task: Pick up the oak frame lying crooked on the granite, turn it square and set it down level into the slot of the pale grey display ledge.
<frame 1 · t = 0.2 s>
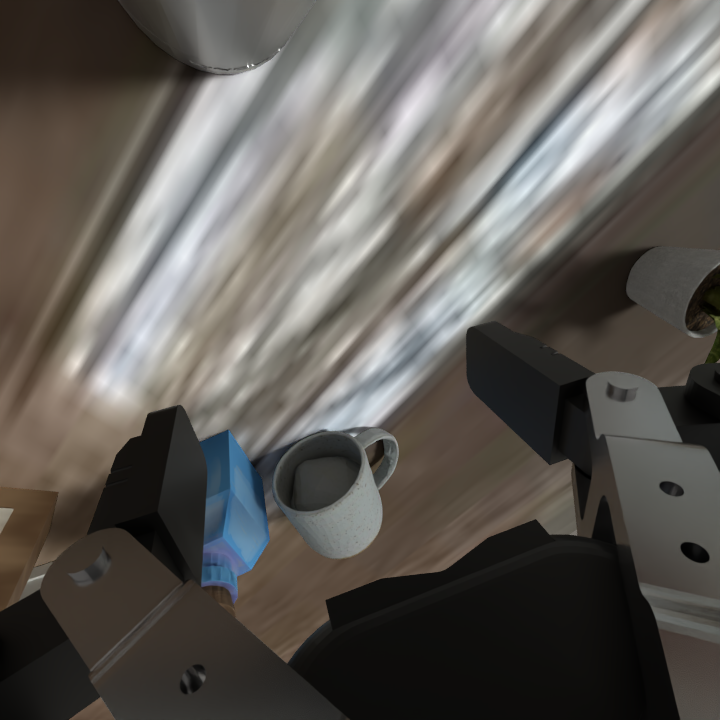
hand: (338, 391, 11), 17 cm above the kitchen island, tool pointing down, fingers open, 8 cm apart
perfume bottle: (210, 470, 33), on the kitchen island
house plant: (644, 287, 37), on the kitchen island
ceramic mug: (335, 456, 36), on the kitchen island
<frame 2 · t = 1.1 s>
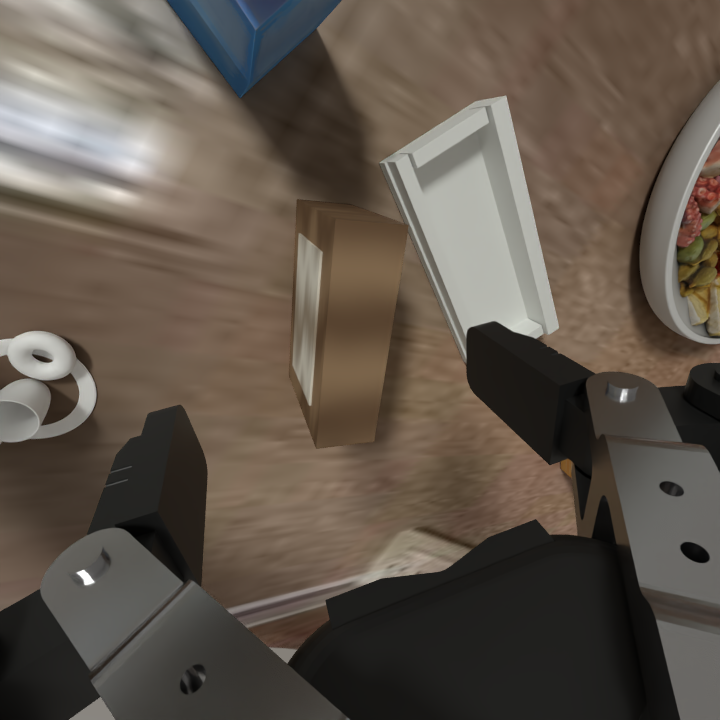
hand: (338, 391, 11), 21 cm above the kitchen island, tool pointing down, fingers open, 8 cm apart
display ledge: (468, 251, 34), on the kitchen island
perfume bottle: (240, 8, 23), on the kitchen island
oak frame: (317, 296, 32), on the kitchen island
teacup and saucer: (84, 383, 29), on the kitchen island
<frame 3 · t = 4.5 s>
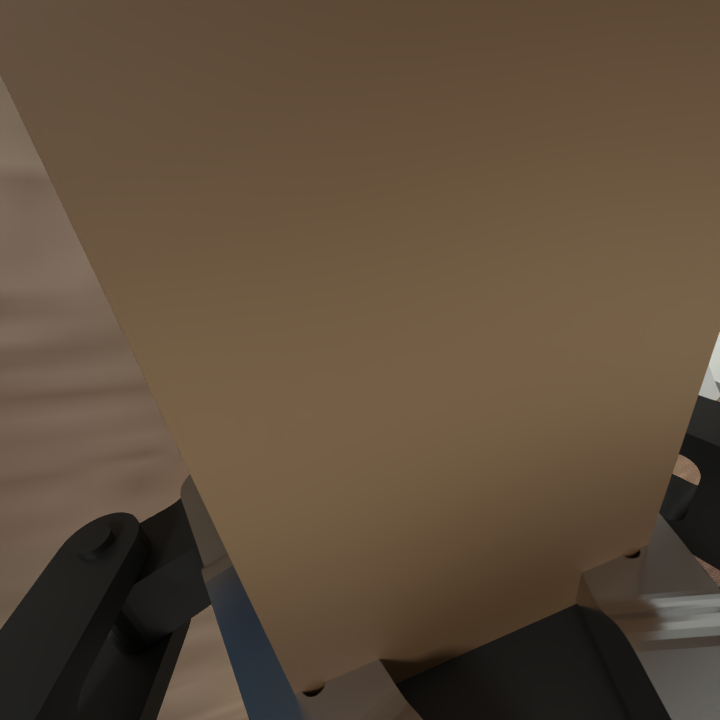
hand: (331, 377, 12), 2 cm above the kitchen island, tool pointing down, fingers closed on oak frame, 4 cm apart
display ledge: (657, 150, 14), on the kitchen island
oak frame: (319, 350, 13), on the kitchen island, touching gripper
when the fingers open (5 cm above the kitchen island, at t = 8.7 s): oak frame drops 2 cm, resting on display ledge.
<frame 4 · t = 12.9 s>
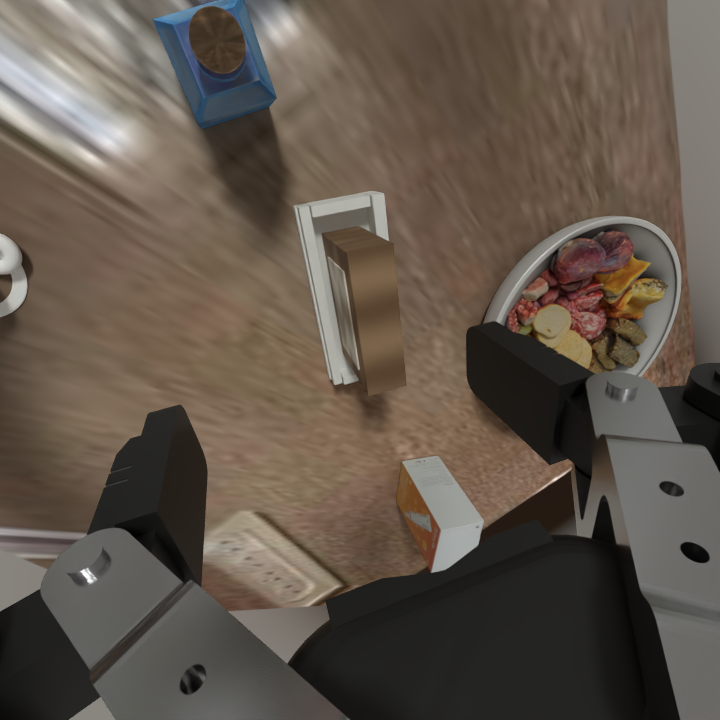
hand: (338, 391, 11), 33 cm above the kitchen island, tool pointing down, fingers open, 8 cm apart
display ledge: (348, 291, 45), on the kitchen island
perfume bottle: (219, 76, 34), on the kitchen island
bowl: (559, 322, 57), on the kitchen island
oak frame: (350, 293, 44), point 1 cm above the kitchen island, touching display ledge
teacup and saucer: (18, 286, 36), on the kitchen island
small box: (415, 476, 62), on the kitchen island
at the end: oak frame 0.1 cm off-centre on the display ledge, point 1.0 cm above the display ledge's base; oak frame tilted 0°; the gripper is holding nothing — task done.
